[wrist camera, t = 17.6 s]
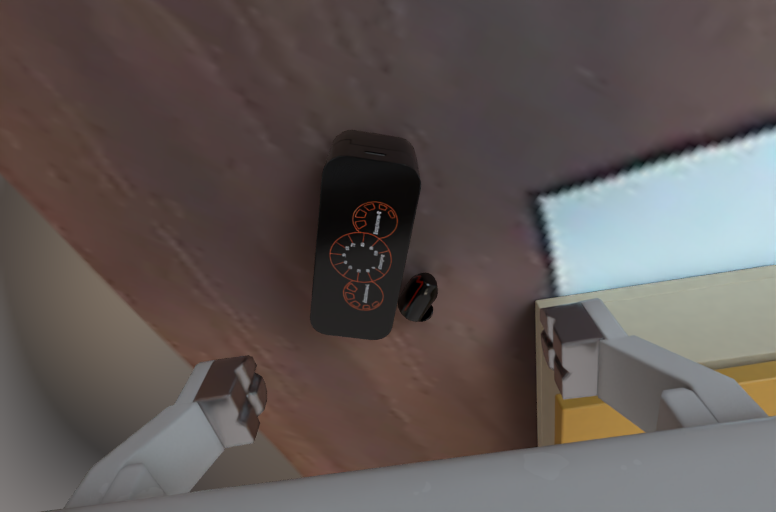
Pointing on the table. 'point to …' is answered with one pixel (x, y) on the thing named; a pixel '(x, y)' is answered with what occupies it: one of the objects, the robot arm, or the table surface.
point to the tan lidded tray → (680, 324)
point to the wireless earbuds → (367, 238)
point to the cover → (598, 420)
